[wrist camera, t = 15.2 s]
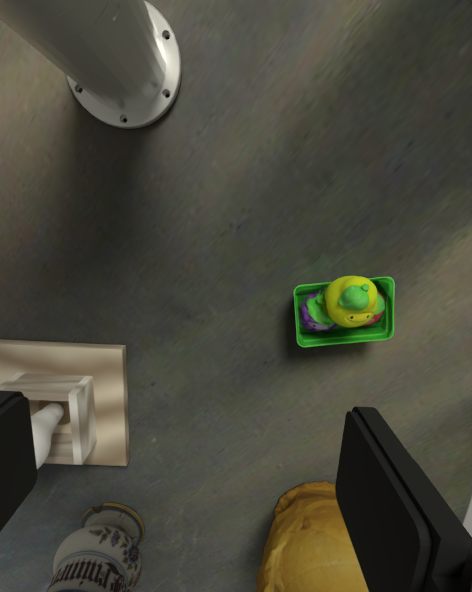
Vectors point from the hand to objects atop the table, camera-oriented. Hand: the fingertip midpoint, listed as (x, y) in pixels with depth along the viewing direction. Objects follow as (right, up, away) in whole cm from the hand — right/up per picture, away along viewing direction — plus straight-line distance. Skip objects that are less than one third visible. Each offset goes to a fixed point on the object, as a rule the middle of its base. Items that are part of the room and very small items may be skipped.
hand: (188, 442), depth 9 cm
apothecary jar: (-18, -32, +41) cm, 55 cm away
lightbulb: (-23, -11, +34) cm, 43 cm away
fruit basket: (+14, +4, +33) cm, 36 cm away
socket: (-23, -11, +36) cm, 44 cm away
